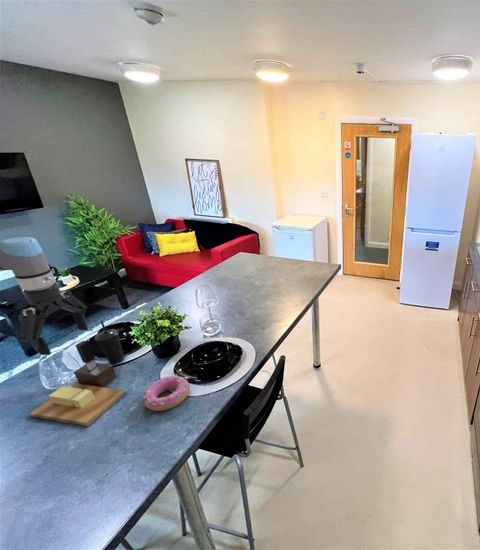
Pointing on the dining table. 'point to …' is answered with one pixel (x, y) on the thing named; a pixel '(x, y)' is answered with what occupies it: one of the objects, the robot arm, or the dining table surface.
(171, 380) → the donut
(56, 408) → the board
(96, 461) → the dining table surface
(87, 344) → the knife
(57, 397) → the butter stick
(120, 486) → the dining table surface
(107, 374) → the knife block
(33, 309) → the robot arm
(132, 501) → the dining table surface
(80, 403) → the butter pat
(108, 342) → the drinking cup
